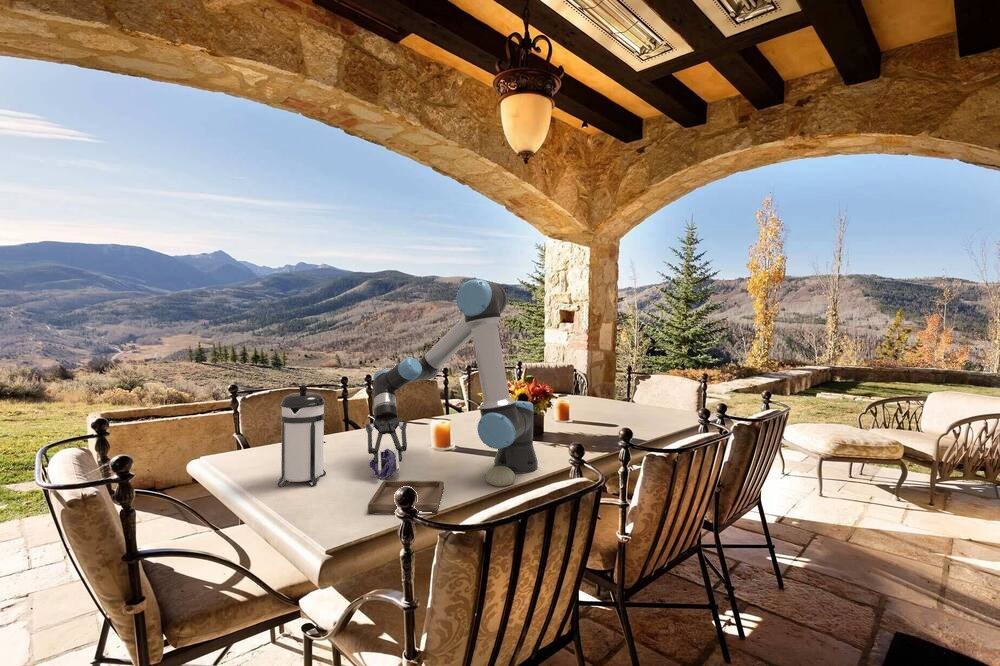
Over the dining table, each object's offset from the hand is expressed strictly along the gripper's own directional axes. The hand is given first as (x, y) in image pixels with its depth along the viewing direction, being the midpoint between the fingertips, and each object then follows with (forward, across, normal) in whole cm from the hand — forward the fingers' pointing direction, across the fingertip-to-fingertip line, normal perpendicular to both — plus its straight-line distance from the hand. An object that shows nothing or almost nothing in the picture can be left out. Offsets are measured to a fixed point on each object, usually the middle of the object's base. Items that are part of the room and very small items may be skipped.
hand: (388, 471), depth 143 cm
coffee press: (-4, +26, -9) cm, 27 cm away
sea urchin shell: (+10, -33, +4) cm, 35 cm away
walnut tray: (+15, -4, +10) cm, 18 cm away
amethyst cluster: (-2, 0, -7) cm, 7 cm away
